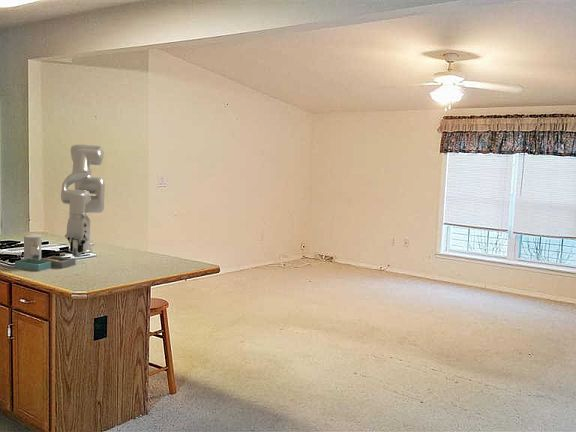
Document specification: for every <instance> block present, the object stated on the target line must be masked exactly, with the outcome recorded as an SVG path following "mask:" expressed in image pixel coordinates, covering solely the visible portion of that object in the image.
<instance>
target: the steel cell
mask: <svg viewBox="0 0 576 432" xmlns="http://www.w3.org/2000/svg"><path fill="white" fill-rule="evenodd" d="M78 245H79V240H78V239H73V248H72V252H71V253H72V256H73V257H80V256H81V255H82V253H81V252H80V253H78Z"/></svg>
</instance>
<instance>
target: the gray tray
mask: <svg viewBox="0 0 576 432" xmlns="http://www.w3.org/2000/svg"><path fill="white" fill-rule="evenodd" d="M40 260H42V261H49V262H51V268H57V269H64V268H65V269H66V268H69V267H72V266H73V267H74V266H76V260H77V259H76V258H73V257H72V258H70V257H66V256H65V257H64V256H56V255H52V256H48V257H43V258H41V259H40Z"/></svg>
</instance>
